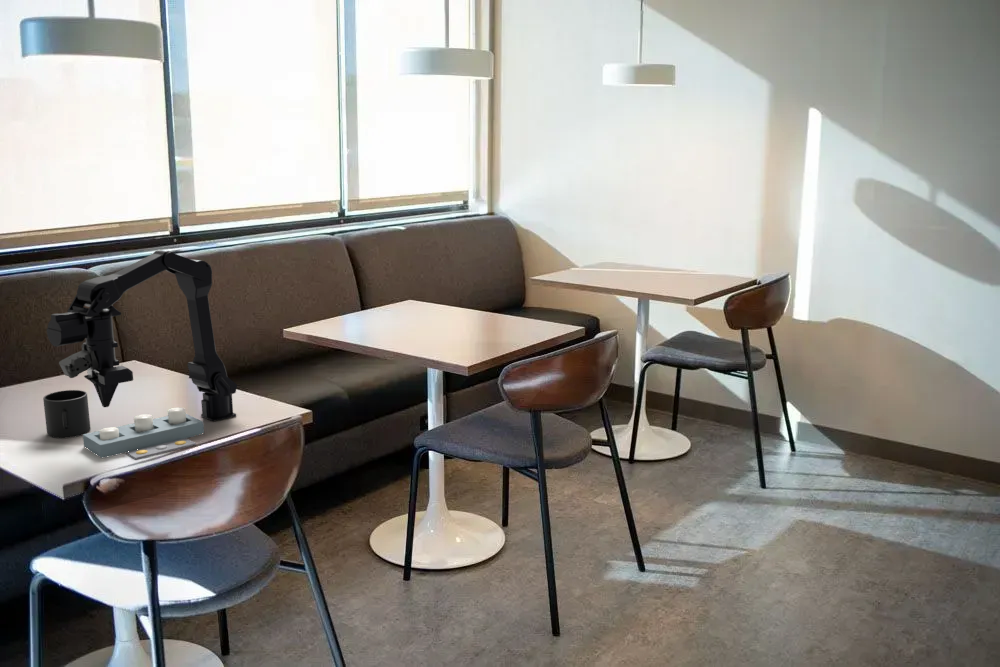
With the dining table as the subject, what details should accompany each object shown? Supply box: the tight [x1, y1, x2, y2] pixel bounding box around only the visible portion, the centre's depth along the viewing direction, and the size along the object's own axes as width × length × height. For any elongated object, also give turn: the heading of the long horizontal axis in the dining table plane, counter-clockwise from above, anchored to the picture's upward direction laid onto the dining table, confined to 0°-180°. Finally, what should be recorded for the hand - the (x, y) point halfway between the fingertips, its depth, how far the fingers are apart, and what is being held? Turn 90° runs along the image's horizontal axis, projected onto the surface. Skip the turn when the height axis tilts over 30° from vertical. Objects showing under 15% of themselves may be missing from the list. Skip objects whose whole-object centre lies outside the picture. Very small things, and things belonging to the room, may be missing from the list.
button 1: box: [98, 426, 119, 441], centre depth 218 cm, size 4×4×4 cm
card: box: [125, 438, 197, 461], centre depth 218 cm, size 14×5×1 cm, turn 133°
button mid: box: [133, 413, 154, 433], centre depth 223 cm, size 4×4×4 cm
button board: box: [82, 413, 205, 459], centre depth 224 cm, size 24×10×3 cm, turn 133°
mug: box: [42, 389, 91, 439], centre depth 228 cm, size 9×12×9 cm
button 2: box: [167, 407, 187, 425], centre depth 229 cm, size 4×4×4 cm
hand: (105, 406), depth 216 cm, fingers closed
